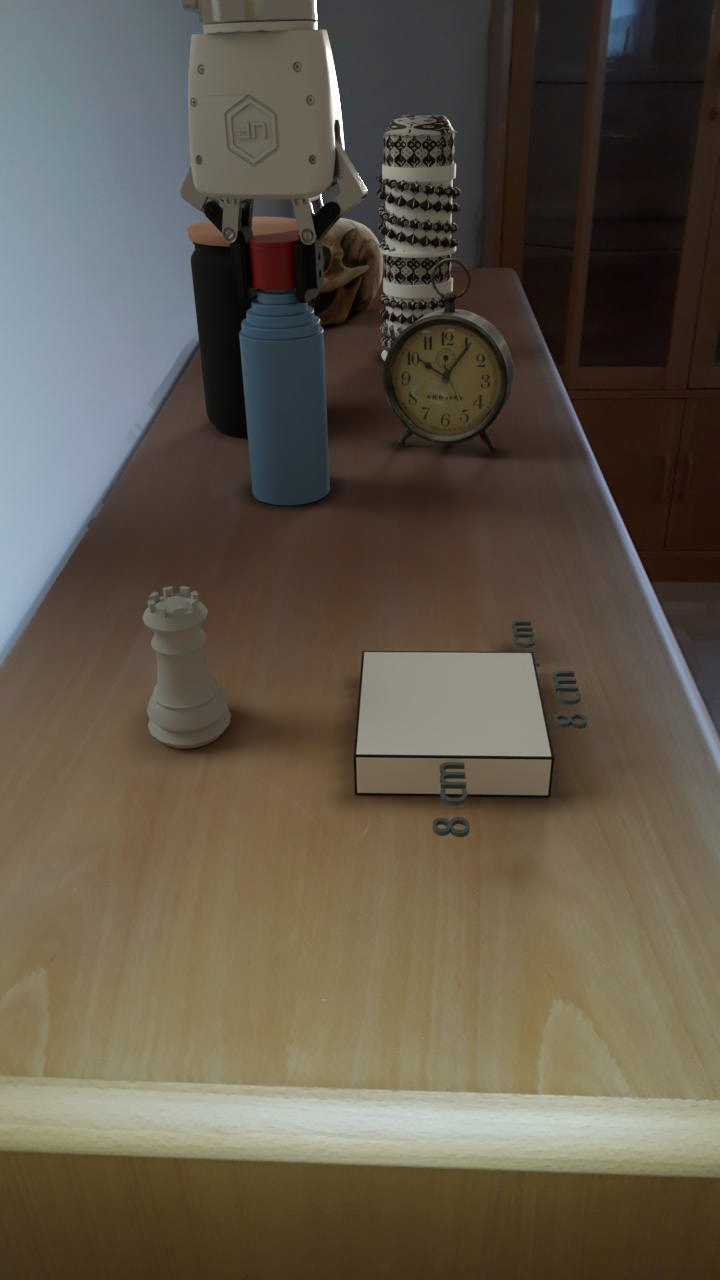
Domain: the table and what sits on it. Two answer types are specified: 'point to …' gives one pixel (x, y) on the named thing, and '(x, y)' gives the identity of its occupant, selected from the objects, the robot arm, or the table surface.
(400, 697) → the container
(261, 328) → the bottle
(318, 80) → the robot arm
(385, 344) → the decorative candle
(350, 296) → the skull
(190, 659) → the rook chess piece
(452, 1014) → the table surface
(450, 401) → the alarm clock
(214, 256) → the coffee jar
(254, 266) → the cap
